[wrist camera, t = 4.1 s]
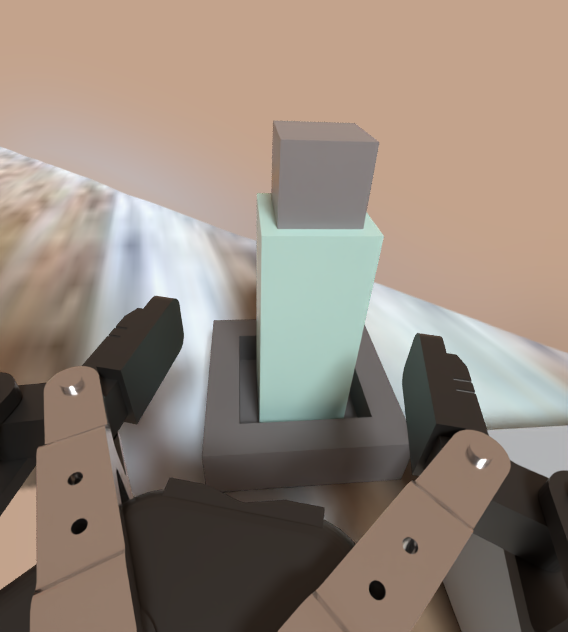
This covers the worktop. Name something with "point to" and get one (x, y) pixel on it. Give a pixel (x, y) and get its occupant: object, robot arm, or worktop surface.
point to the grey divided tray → (487, 558)
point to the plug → (313, 268)
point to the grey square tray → (296, 425)
